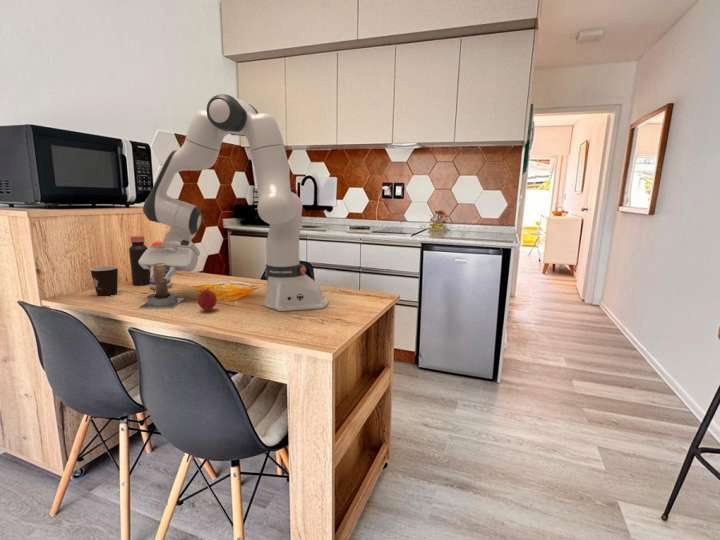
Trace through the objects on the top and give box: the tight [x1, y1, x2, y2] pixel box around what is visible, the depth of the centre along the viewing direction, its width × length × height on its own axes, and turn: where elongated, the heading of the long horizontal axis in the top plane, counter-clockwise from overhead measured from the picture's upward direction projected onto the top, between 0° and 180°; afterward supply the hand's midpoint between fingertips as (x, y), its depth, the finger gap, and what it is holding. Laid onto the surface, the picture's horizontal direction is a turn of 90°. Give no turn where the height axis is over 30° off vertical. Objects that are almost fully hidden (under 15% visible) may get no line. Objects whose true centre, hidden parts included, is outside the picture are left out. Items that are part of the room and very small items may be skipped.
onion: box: [197, 286, 218, 312], centre depth 129 cm, size 6×6×8 cm
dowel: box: [153, 263, 169, 298], centre depth 136 cm, size 4×4×12 cm
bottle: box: [128, 235, 151, 287], centre depth 162 cm, size 7×7×20 cm
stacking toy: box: [149, 240, 172, 290], centre depth 157 cm, size 8×8×19 cm
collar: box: [138, 291, 186, 309], centre depth 137 cm, size 11×11×3 cm
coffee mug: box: [90, 265, 119, 297], centre depth 148 cm, size 12×9×10 cm
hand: (159, 279), depth 135 cm, fingers closed on dowel, 4 cm apart
